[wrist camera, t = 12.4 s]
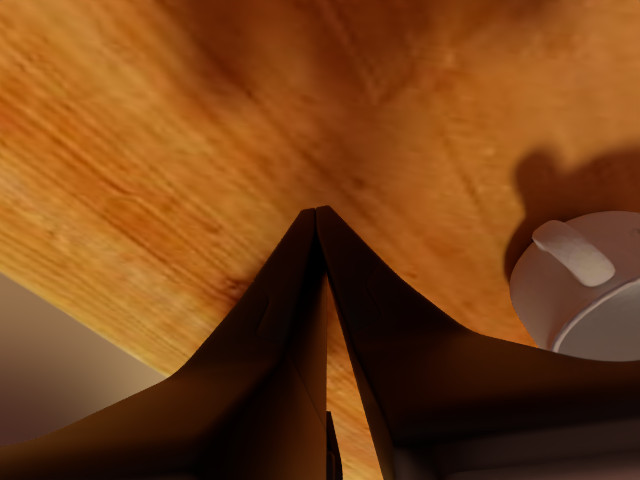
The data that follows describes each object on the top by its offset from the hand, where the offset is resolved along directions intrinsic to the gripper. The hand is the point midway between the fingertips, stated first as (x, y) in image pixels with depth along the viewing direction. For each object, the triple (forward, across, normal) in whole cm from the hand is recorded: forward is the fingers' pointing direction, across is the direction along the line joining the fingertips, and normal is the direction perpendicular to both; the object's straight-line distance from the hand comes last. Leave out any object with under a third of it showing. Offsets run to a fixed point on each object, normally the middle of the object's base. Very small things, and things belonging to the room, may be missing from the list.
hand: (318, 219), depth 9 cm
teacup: (+9, -16, +13) cm, 22 cm away
